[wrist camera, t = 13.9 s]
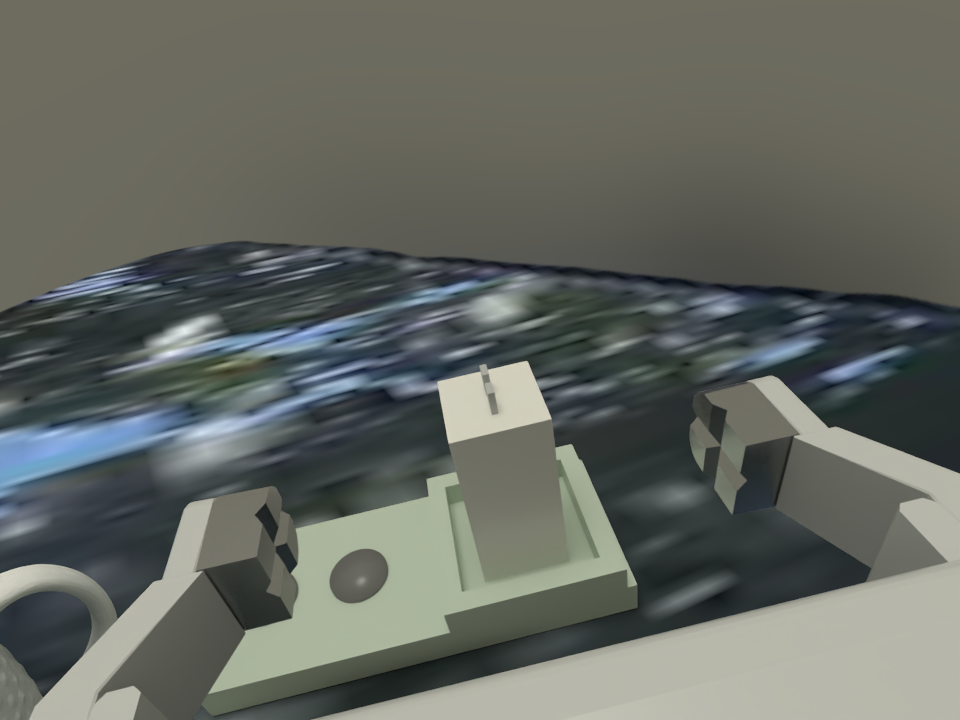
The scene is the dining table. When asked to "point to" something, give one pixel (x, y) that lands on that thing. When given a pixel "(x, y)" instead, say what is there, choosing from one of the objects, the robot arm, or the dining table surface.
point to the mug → (3, 681)
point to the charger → (506, 468)
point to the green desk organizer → (420, 593)
